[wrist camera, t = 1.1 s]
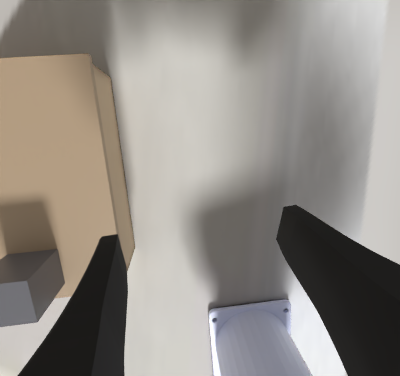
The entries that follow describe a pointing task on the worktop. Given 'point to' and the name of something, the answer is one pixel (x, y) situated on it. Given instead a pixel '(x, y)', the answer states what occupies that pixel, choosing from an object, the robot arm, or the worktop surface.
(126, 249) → the carton
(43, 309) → the carton lid
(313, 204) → the worktop surface
